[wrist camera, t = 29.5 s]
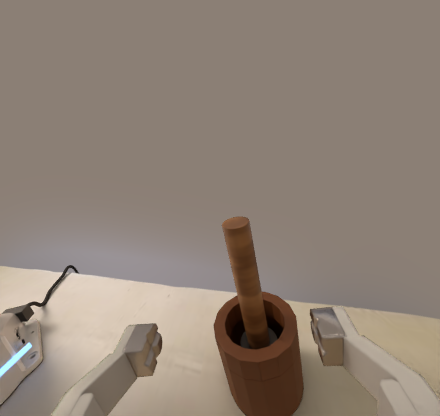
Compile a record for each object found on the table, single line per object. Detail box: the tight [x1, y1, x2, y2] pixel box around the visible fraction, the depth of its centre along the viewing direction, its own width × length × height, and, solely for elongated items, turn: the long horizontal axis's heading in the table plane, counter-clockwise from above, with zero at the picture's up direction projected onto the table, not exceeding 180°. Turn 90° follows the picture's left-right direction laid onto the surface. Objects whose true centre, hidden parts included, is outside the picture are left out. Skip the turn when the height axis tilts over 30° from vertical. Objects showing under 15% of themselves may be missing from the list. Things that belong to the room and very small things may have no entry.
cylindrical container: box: [214, 292, 304, 416], centre depth 29 cm, size 10×10×11 cm
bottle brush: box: [222, 217, 278, 350], centre depth 27 cm, size 5×5×24 cm
